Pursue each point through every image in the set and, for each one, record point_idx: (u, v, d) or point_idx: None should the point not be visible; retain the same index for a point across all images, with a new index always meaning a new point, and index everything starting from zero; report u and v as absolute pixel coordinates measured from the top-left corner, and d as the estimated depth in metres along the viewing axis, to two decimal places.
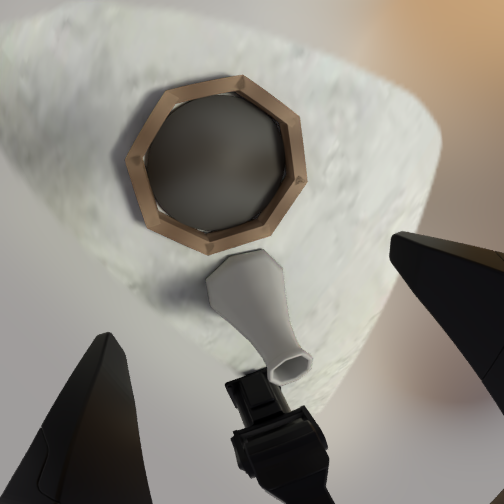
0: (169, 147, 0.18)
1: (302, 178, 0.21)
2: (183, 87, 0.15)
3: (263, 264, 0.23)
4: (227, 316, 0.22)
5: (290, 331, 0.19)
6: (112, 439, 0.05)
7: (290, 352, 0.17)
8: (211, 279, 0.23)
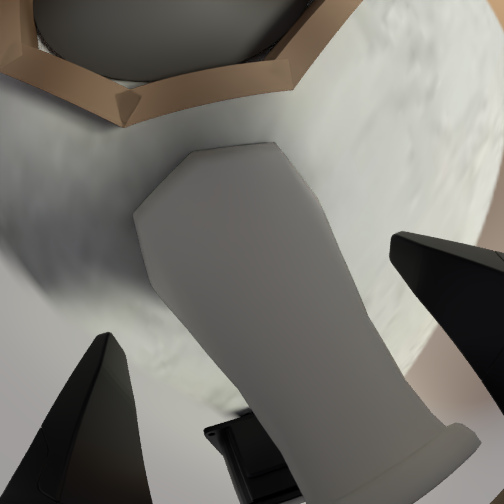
0: None
1: None
2: None
3: (276, 165, 0.08)
4: (176, 306, 0.08)
5: (388, 352, 0.05)
6: (112, 439, 0.05)
7: (433, 463, 0.02)
8: (144, 210, 0.09)
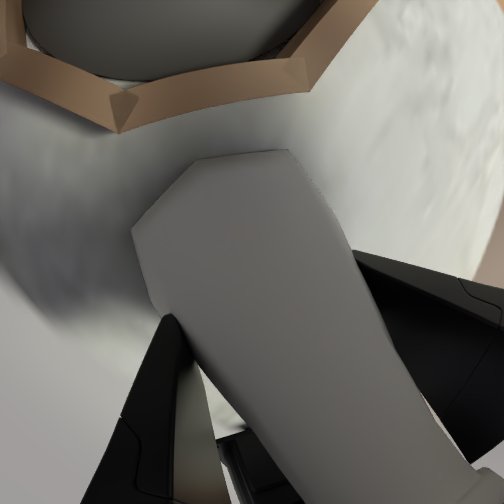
0: None
1: None
2: None
3: (292, 176, 0.08)
4: None
5: (421, 396, 0.04)
6: (197, 421, 0.05)
7: None
8: (144, 225, 0.08)
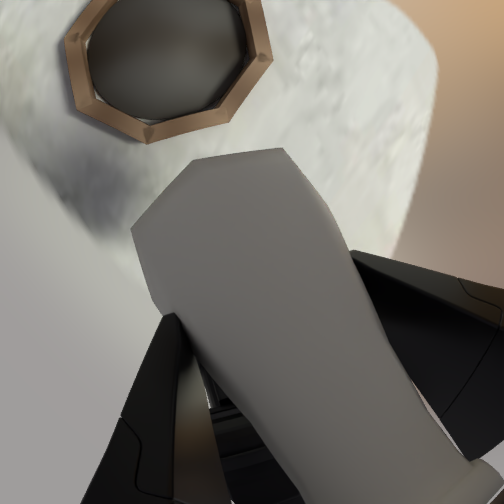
0: (114, 29, 0.12)
1: (267, 56, 0.14)
2: None
3: (286, 174, 0.08)
4: None
5: (412, 386, 0.04)
6: (197, 421, 0.05)
7: None
8: (143, 225, 0.08)
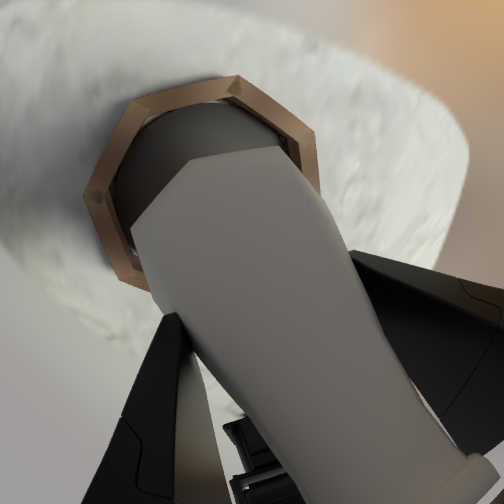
0: (142, 175, 0.13)
1: None
2: (155, 94, 0.11)
3: (282, 171, 0.08)
4: None
5: (407, 380, 0.04)
6: (198, 421, 0.05)
7: None
8: (142, 224, 0.08)
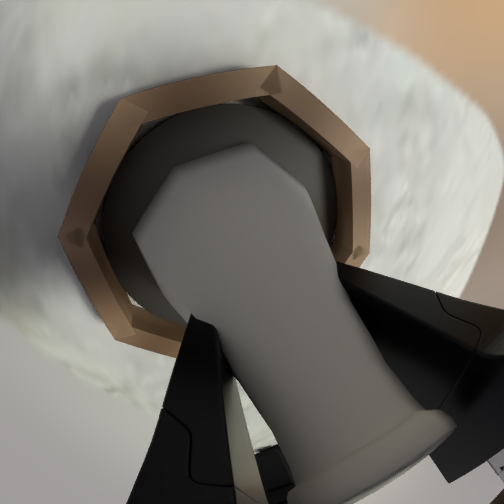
0: (139, 205, 0.10)
1: (363, 248, 0.13)
2: (156, 89, 0.07)
3: (253, 165, 0.09)
4: (182, 312, 0.09)
5: (363, 339, 0.05)
6: (236, 410, 0.05)
7: (388, 452, 0.03)
8: (141, 228, 0.10)
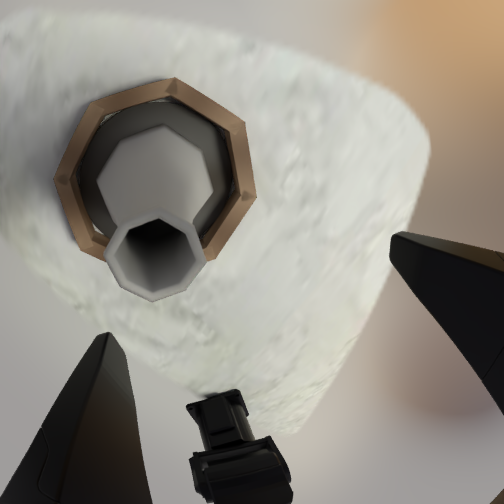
0: (101, 163, 0.15)
1: (251, 193, 0.18)
2: (108, 97, 0.13)
3: (159, 135, 0.14)
4: (114, 217, 0.14)
5: (170, 198, 0.10)
6: (112, 439, 0.05)
7: (136, 213, 0.08)
8: (100, 175, 0.15)
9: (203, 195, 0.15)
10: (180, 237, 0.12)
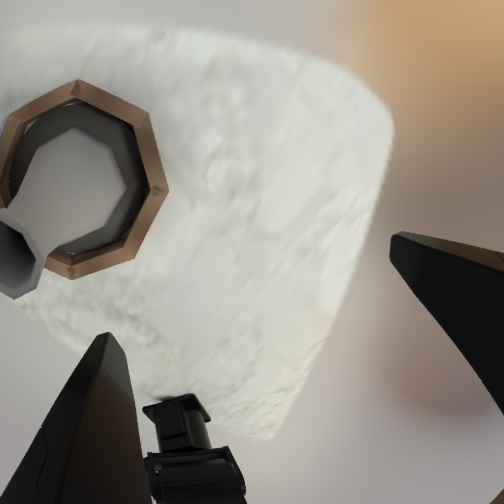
0: (25, 169, 0.13)
1: (162, 188, 0.16)
2: (23, 107, 0.11)
3: (64, 138, 0.12)
4: None
5: (36, 200, 0.09)
6: (112, 439, 0.05)
7: None
8: None
9: (102, 193, 0.14)
10: (60, 237, 0.10)
